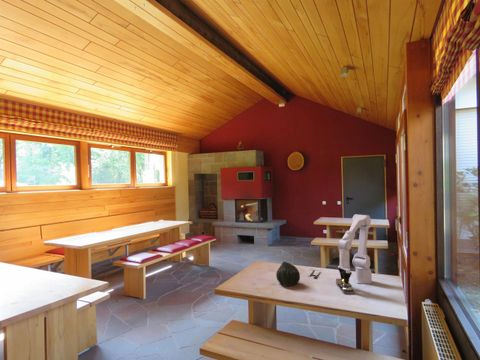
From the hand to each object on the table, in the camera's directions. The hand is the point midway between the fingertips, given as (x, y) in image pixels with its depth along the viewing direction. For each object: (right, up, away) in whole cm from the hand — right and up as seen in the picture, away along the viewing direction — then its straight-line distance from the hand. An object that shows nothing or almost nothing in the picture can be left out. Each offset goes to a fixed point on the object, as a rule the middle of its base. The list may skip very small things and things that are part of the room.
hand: (344, 281), depth 184 cm
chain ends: (0, -5, 0) cm, 5 cm away
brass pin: (0, -5, 0) cm, 5 cm away
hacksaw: (-12, -6, +32) cm, 34 cm away
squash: (-34, -5, +10) cm, 35 cm away
